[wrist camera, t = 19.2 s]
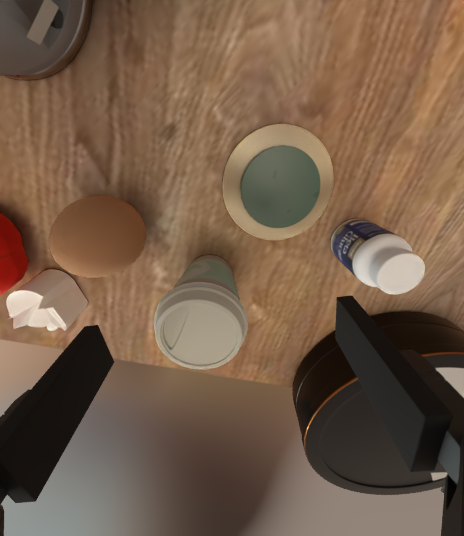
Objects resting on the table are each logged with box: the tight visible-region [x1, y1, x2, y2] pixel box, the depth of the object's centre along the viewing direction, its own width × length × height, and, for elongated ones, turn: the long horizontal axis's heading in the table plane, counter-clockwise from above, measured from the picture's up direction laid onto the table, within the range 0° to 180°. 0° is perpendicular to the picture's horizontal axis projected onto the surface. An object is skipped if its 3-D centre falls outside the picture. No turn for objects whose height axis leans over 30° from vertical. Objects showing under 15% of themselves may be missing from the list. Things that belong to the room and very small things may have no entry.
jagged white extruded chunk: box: [7, 269, 88, 331], centre depth 30 cm, size 8×7×7 cm
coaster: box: [222, 124, 334, 240], centre depth 27 cm, size 12×12×1 cm
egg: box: [49, 195, 146, 278], centre depth 24 cm, size 8×8×11 cm
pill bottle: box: [331, 219, 425, 294], centre depth 26 cm, size 5×5×10 cm
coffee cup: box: [154, 255, 248, 369], centre depth 27 cm, size 8×8×12 cm
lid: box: [240, 145, 320, 228], centre depth 26 cm, size 8×8×2 cm
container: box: [293, 312, 464, 495], centre depth 36 cm, size 28×28×10 cm
